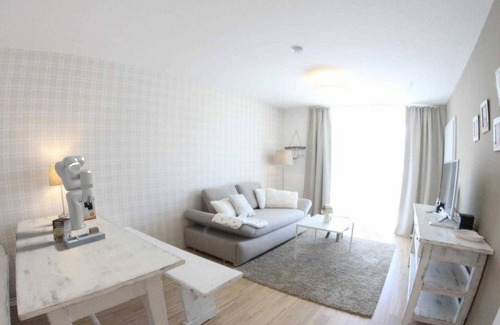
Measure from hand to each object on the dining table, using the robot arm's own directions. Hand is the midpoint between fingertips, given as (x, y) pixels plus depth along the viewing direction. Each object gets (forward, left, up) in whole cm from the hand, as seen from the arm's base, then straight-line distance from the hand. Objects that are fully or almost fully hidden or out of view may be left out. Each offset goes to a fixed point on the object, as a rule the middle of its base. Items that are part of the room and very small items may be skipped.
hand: (88, 208), depth 183 cm
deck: (+12, -7, -20) cm, 25 cm away
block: (+9, 0, -17) cm, 19 cm away
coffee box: (-1, -17, -20) cm, 26 cm away
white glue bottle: (-47, +9, -20) cm, 52 cm away
